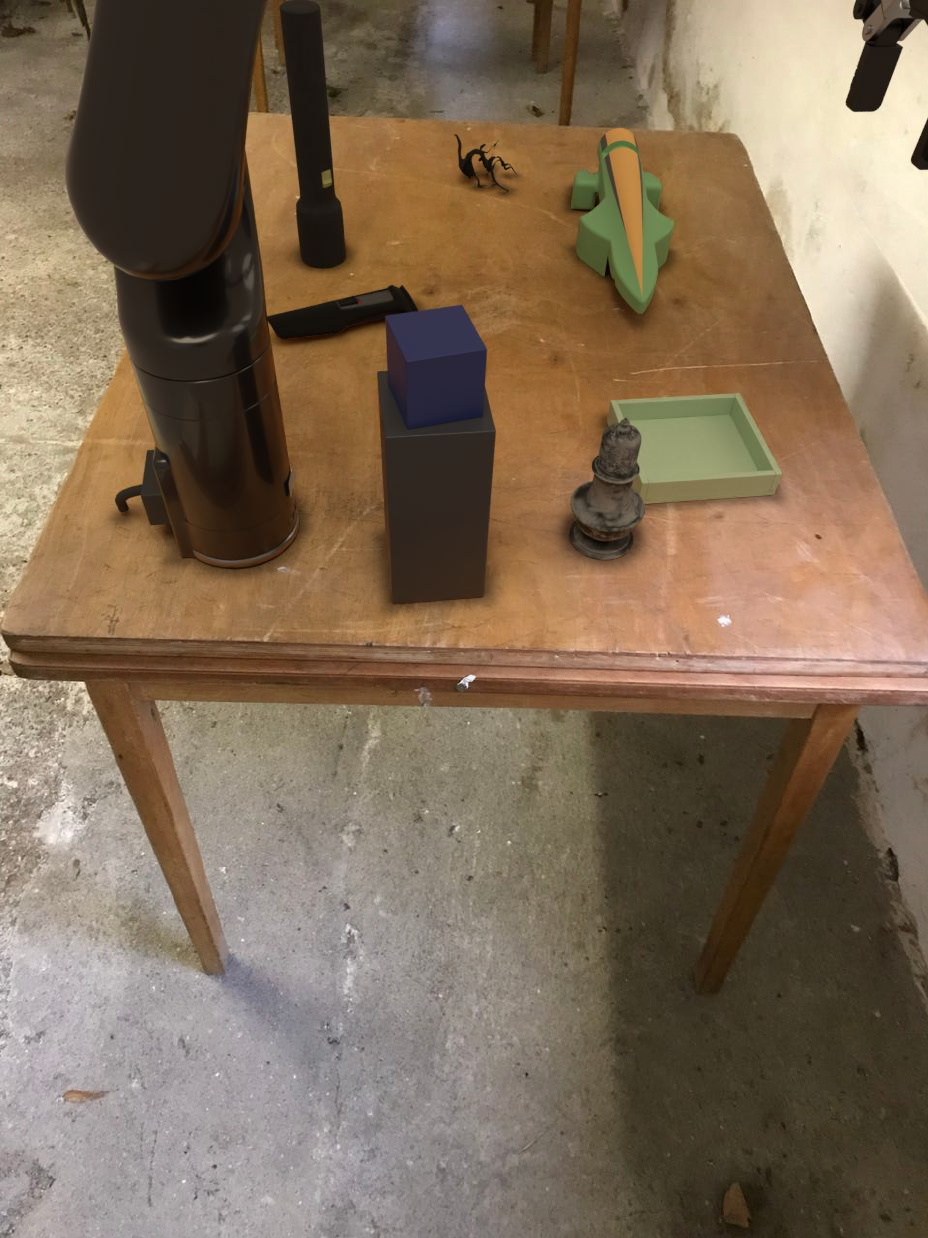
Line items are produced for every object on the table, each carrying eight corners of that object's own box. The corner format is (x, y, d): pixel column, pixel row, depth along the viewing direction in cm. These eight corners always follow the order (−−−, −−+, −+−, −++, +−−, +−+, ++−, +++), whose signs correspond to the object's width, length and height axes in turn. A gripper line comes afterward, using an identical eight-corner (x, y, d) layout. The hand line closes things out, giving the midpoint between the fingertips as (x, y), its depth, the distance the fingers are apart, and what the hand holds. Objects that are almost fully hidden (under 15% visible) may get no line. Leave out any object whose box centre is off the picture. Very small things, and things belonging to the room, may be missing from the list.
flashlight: (291, 255, 100) (320, 273, 98) (260, 3, 81) (295, 17, 79) (326, 240, 102) (355, 256, 100) (303, -9, 83) (338, 5, 81)
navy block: (407, 430, 56) (406, 361, 52) (387, 383, 59) (385, 315, 55) (483, 416, 57) (487, 348, 53) (459, 371, 60) (462, 304, 56)
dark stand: (392, 604, 68) (385, 437, 56) (385, 538, 72) (377, 370, 60) (483, 597, 69) (496, 430, 56) (471, 532, 73) (480, 365, 61)
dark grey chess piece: (640, 564, 71) (672, 446, 62) (567, 561, 71) (587, 442, 62) (633, 512, 75) (662, 394, 66) (563, 510, 75) (582, 391, 66)
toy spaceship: (686, 338, 92) (703, 271, 86) (584, 333, 92) (594, 266, 86) (652, 191, 112) (664, 129, 107) (568, 187, 112) (576, 125, 106)
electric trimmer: (265, 333, 90) (260, 305, 88) (407, 301, 95) (406, 273, 92) (276, 354, 88) (271, 325, 86) (421, 319, 92) (421, 291, 90)
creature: (501, 172, 117) (444, 165, 114) (512, 129, 113) (454, 120, 110) (521, 200, 112) (462, 193, 109) (534, 156, 108) (473, 147, 105)
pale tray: (636, 504, 76) (642, 483, 74) (606, 421, 83) (610, 399, 81) (774, 495, 77) (782, 473, 75) (732, 413, 84) (739, 392, 82)
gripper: (891, -244, 47) (789, 94, 59) (1053, -196, 38) (893, 190, 50) (1017, -237, 48) (891, 93, 61) (1203, -188, 39) (1011, 187, 52)
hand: (892, 137), depth 56 cm, fingers open, 8 cm apart
